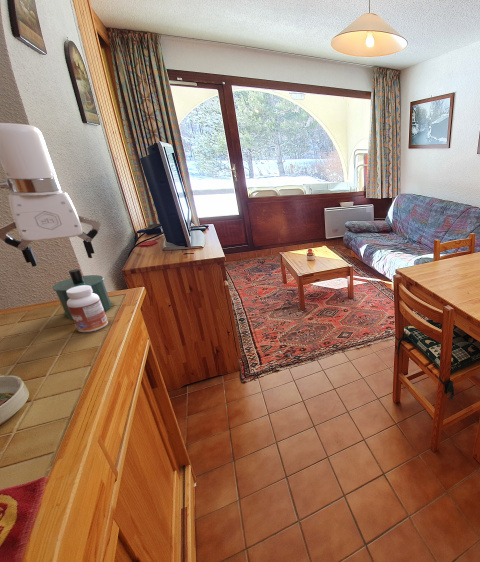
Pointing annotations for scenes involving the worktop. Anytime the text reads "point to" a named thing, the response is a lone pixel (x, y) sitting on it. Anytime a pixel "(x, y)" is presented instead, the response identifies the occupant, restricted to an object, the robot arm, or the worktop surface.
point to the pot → (97, 289)
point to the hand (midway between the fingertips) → (63, 260)
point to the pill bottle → (86, 309)
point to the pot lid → (77, 281)
